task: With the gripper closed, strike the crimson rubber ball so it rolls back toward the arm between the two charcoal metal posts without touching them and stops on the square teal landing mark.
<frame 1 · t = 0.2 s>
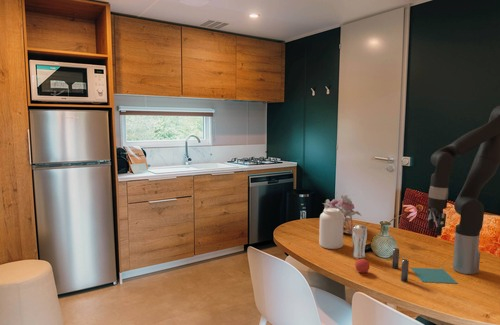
hand: (434, 232, 158), 17 cm above the table, tool pointing down, fingers open, 8 cm apart
ball: (362, 265, 157), on the table
post 2: (404, 280, 149), on the table
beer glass: (358, 256, 176), on the table
landing mark: (433, 275, 154), on the table
white jar: (330, 245, 191), on the table
flower: (341, 230, 217), on the table
post 1: (395, 267, 162), on the table
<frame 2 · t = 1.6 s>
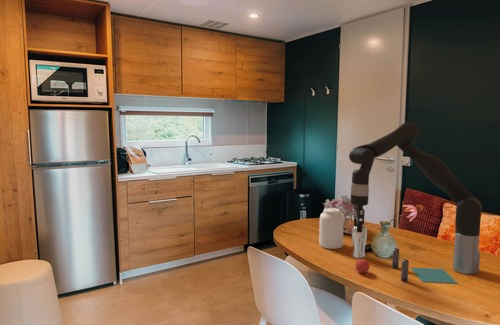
hand: (357, 229, 158), 19 cm above the table, tool pointing down, fingers open, 8 cm apart
nothing on the table moved.
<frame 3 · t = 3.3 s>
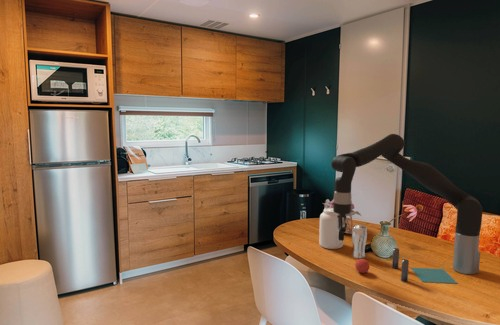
hand: (341, 239, 157), 15 cm above the table, tool pointing down, fingers closed
nothing on the table moved.
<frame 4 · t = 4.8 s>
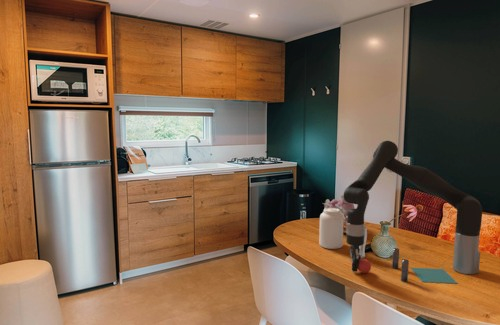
hand: (354, 270, 157), 1 cm above the table, tool pointing down, fingers closed
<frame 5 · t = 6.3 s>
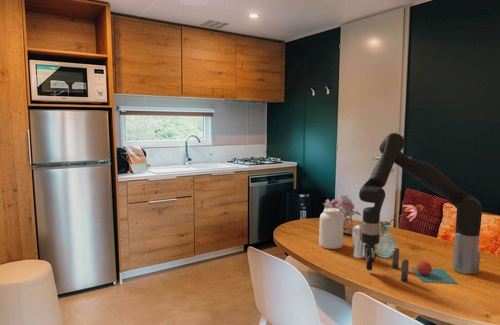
hand: (369, 269, 157), 2 cm above the table, tool pointing down, fingers closed
ball: (424, 268, 154), on the table
everything else where it was.
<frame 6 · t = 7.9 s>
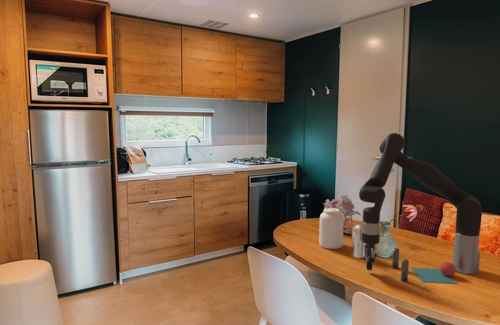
hand: (369, 269, 157), 2 cm above the table, tool pointing down, fingers closed
ball: (447, 268, 153), on the table
everything else where it was.
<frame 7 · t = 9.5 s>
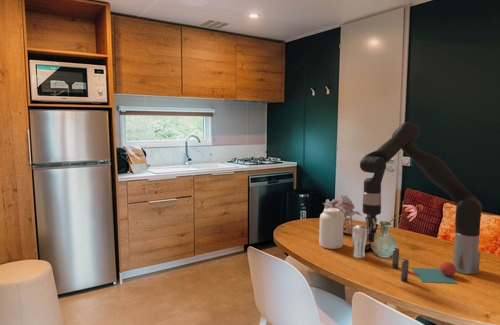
hand: (370, 241, 155), 15 cm above the table, tool pointing down, fingers closed
nothing on the table moved.
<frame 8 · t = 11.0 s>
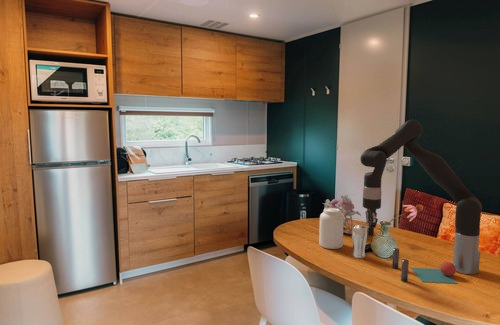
hand: (370, 235, 155), 17 cm above the table, tool pointing down, fingers closed
nothing on the table moved.
at the end: ball 6.2 cm from the landing mark (horizontally); ball never touched post 2; ball never touched post 1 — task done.
